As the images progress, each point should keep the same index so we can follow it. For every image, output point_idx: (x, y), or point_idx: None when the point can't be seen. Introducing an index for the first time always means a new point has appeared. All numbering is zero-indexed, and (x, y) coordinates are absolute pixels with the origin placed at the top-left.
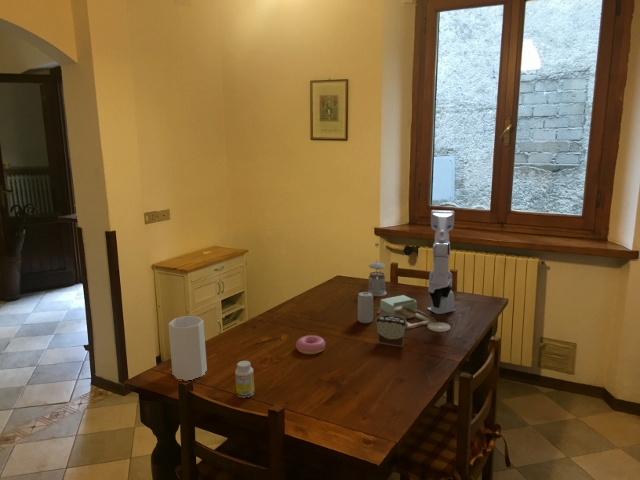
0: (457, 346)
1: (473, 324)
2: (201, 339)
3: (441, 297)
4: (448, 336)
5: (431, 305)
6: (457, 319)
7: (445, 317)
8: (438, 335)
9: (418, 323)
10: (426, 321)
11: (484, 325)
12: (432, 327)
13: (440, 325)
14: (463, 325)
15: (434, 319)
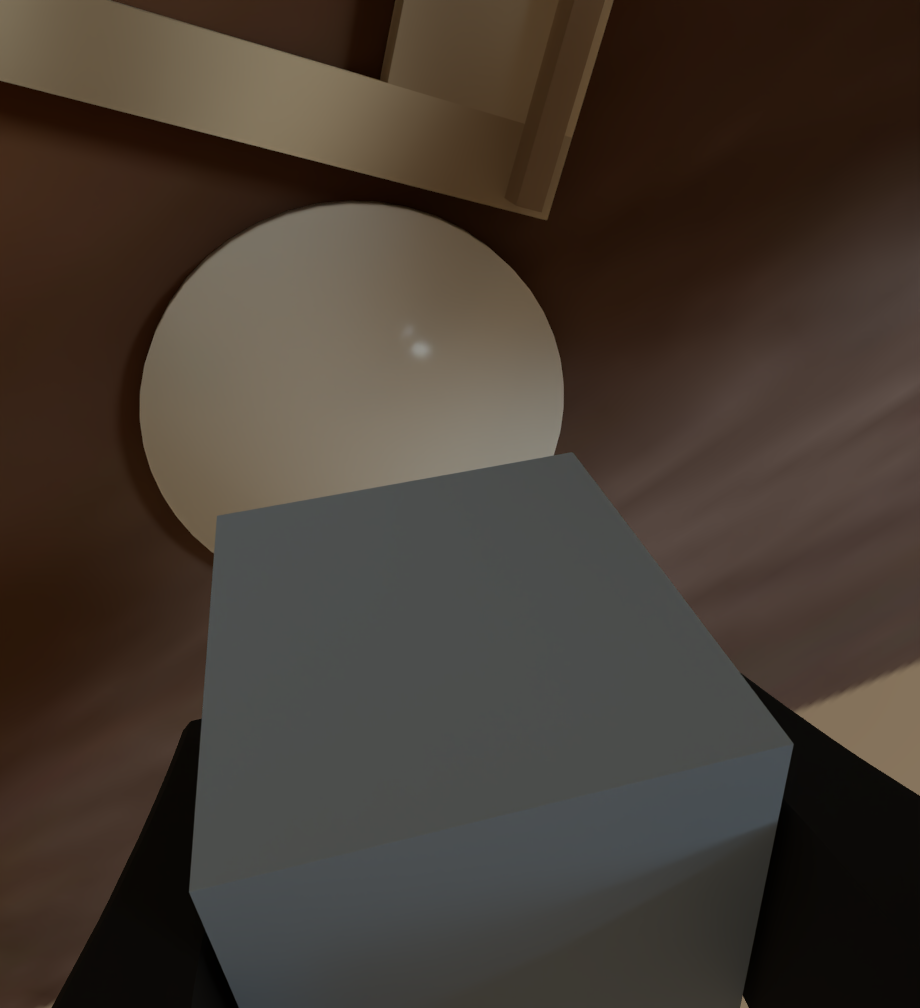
0: (50, 921)
1: (803, 611)
2: None
3: (601, 989)
4: (198, 704)
5: (211, 622)
6: (876, 369)
7: (872, 165)
8: (90, 615)
9: (69, 55)
10: (334, 119)
11: (837, 690)
12: (216, 393)
13: (414, 419)
14: (698, 566)
15: (528, 204)
